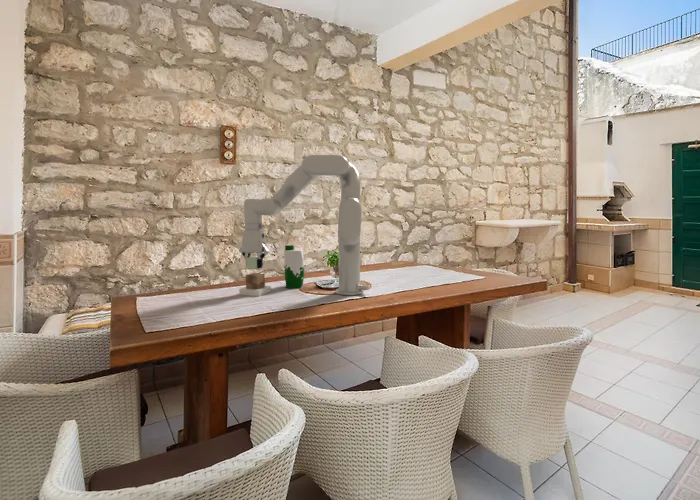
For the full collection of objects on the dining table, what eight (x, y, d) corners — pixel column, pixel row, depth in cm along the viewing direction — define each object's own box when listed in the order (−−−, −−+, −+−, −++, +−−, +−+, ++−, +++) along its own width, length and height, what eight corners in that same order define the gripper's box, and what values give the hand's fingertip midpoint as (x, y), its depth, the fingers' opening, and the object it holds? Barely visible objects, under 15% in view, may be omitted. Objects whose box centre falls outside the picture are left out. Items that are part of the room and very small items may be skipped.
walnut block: (264, 286, 185) (264, 273, 184) (257, 289, 179) (257, 275, 179) (253, 285, 187) (253, 273, 186) (245, 288, 181) (245, 275, 181)
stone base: (270, 291, 186) (270, 286, 186) (259, 296, 177) (258, 290, 177) (252, 290, 190) (251, 284, 189) (239, 294, 180) (239, 289, 180)
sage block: (262, 267, 184) (261, 256, 183) (256, 269, 179) (255, 258, 178) (252, 267, 185) (252, 256, 185) (246, 268, 181) (246, 257, 180)
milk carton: (287, 284, 202) (286, 244, 200) (305, 284, 202) (304, 244, 200) (283, 288, 194) (282, 246, 191) (302, 288, 193) (302, 246, 191)
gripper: (274, 226, 181) (275, 267, 183) (241, 226, 187) (242, 265, 188) (265, 227, 174) (266, 269, 176) (231, 227, 179) (233, 267, 181)
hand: (254, 267), depth 182 cm, fingers closed on sage block, 5 cm apart
